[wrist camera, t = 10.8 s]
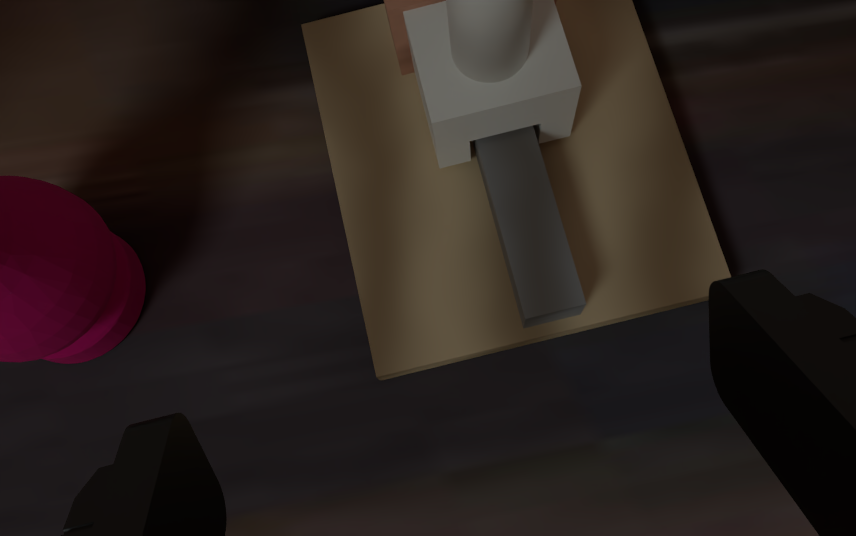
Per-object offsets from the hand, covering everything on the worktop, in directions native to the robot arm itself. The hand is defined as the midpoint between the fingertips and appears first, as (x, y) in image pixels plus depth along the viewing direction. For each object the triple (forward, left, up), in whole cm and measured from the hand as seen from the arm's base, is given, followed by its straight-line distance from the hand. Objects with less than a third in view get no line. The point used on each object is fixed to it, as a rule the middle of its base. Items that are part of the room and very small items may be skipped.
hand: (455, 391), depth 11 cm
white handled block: (+4, +14, -19) cm, 24 cm away
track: (+4, +12, -20) cm, 24 cm away
